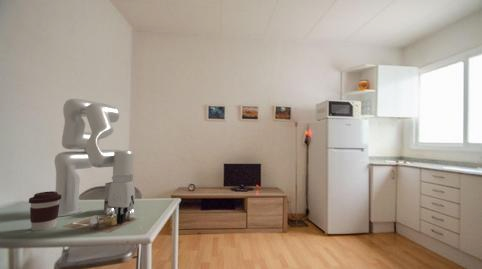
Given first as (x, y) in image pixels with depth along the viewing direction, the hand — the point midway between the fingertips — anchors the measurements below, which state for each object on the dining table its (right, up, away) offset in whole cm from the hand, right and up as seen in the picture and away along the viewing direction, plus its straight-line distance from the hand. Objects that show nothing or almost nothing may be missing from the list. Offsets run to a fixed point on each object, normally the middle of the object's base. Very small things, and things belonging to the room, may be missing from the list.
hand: (121, 222), depth 89 cm
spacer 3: (+1, -1, +6) cm, 6 cm away
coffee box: (-13, -3, +19) cm, 23 cm away
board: (-9, -2, +2) cm, 10 cm away
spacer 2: (-10, -1, +8) cm, 13 cm away
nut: (-5, -1, +1) cm, 6 cm away
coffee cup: (-30, -2, -3) cm, 30 cm away
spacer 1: (-9, -1, -4) cm, 10 cm away
